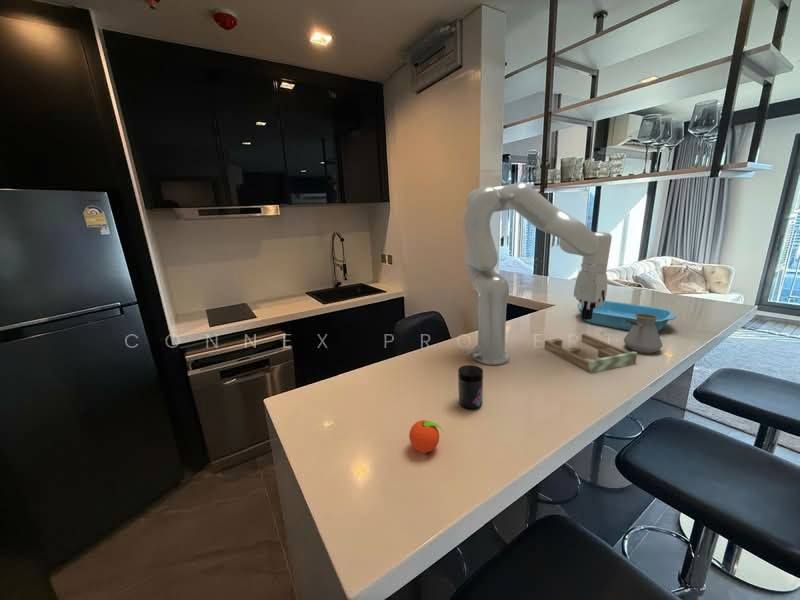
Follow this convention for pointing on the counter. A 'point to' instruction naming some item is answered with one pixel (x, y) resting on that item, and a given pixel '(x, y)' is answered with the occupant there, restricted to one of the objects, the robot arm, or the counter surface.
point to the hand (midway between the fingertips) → (586, 318)
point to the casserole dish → (626, 315)
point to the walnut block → (607, 352)
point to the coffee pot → (643, 334)
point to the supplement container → (470, 386)
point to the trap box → (591, 363)
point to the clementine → (424, 436)
